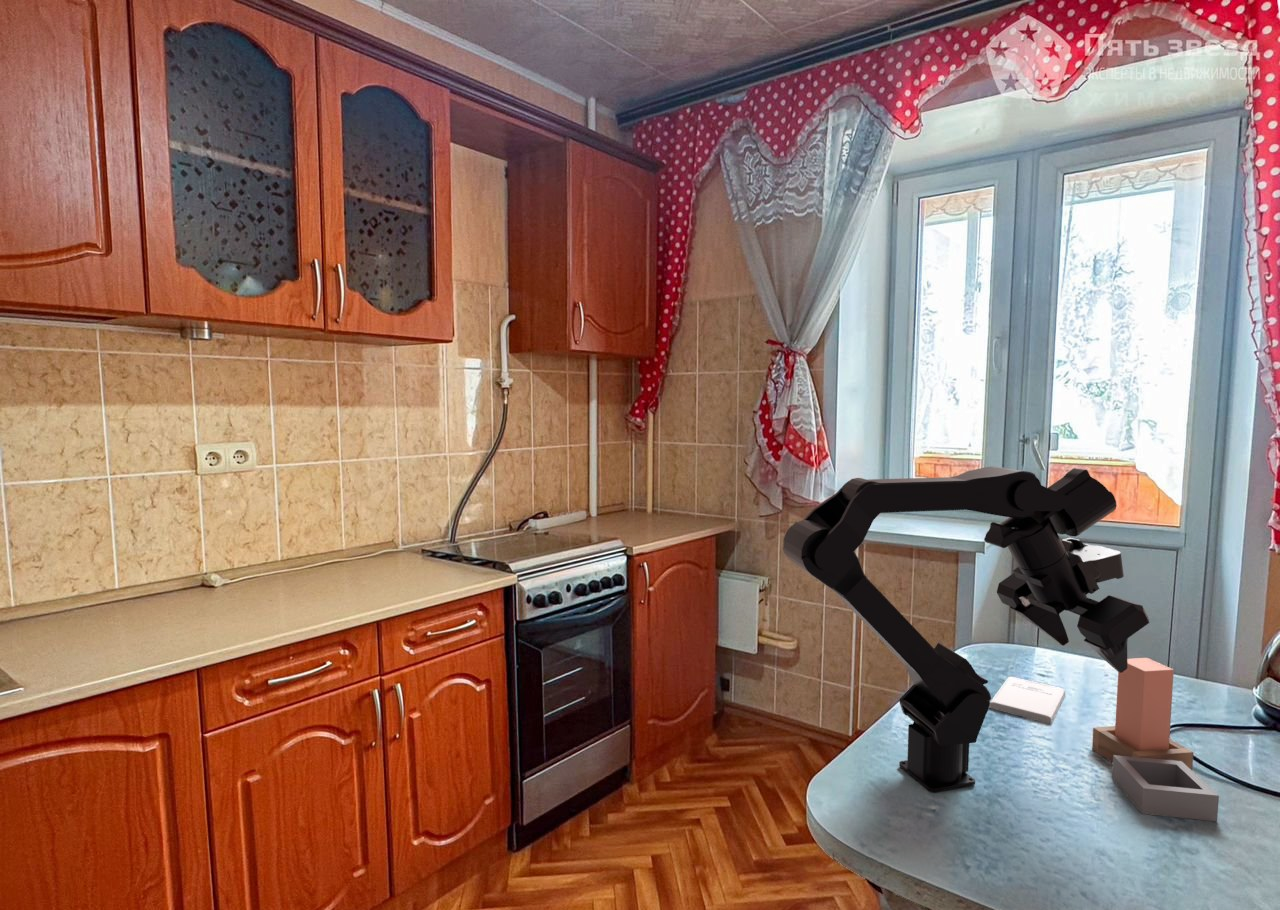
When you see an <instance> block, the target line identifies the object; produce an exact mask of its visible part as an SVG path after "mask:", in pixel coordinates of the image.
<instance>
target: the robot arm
mask: <svg viewBox="0 0 1280 910" xmlns="http://www.w3.org/2000/svg"><path fill="white" fill-rule="evenodd" d="M1117 507H1118V506H1117V501H1116V498H1115V495H1114V494H1113V493H1112V491H1109V490H1108V488H1107V487H1106V486H1104V483H1102V482H1101V481H1099V480H1097V479H1096V478H1095V477H1092V476H1091V475H1090V473H1089V471H1088V469H1082V468H1075V467H1074V468H1072V469H1070V470H1069V471H1067V473H1065V475H1063V476H1062V477H1061V478H1060V479H1059V480H1057V481H1055V482H1054V483H1052V484H1051V485H1050V486H1048V487H1047V486H1044V485H1042V484H1041V481H1040V479H1039V478H1038V477H1037V475H1036V474H1035V473H1033V472H1031V471H1025V470H1019V469H1013V468H1006V467H1001V466H995V465H992V466H985V467H980V468H976V469H971V470H967V471H965V472H962V473H960V474H958V475H953V476H948V477H945V476H944V477H943V476H942V477H913V478H912V477H911V478H906V477H905V478H879V479H877V478H875V479H874V478H873V479H871V478H870V479H865V478H863V477H855V478H851V479H850V480H848V481H847V482H845V483H844V484H843V485H842V486H841V487H840V488H839V490H838V491H836V492H835V494H833V495H832V496H830V497H829V498H828V499H826V500H824V501H823V502H821V503H820V504H818V505H817V506H816V507H814V508H813V509H812V510H811V511H810V512H809V513H808V514H807V515H806V516H805V517H804V519H802V520H800V521H796V522H795V523H793V524H792V525H791V526H789V528H788V529H787V530H786V532H785V534H784V538H783V544H782V545H783V546H782V550H783V553H784V555H785V556H786V558H787V560H789V561H790V562H792V563H793V564H794V565H796V566H797V567H799V569H801V570H803V571H804V572H805V573H807V575H809V576H811V577H813V579H815V580H816V581H818V582H820V583H821V584H822V585H824V586H825V587H827V588H828V589H829V590H832V592H834V593H835V595H837V596H838V598H840V599H841V600H842V601H843V602H844V603H845V605H846V606H848V608H849V609H850V610H851V611H852V612H853V613H854V614H855V615H856V616H857V618H859V619H860V620H861V621H862V622H863V623H864V624H865V626H867V628H869V629H870V630H871V631H872V632H873V634H875V636H877V638H878V639H879V640H880V641H881V642H882V643H883V644H884V645H885V646H886V647H887V648H888V649H889V650H890V651H891V652H892V653H893V654H894V655H895V656H896V657H897V658H898V659H899V661H901V662H902V664H903V666H905V668H906V670H907V674H908V675H909V678H910V680H911V682H912V683H913V684H912V685H911V686H910V688H909V689H907V691H906V692H904V694H903V695H902V696H901V697H900V698H899V700H898V701H899V704H900V709H901V711H902V713H903V714H904V715H905V716H906V717H908V718H910V720H911V721H912V722H913V723H910V724H908V733H907V759H906V760H901V761H899V762H898V765H899V767H900V768H901V769H902V770H903V771H905V772H906V773H907V774H908V775H909V776H911V777H912V778H913V779H915V780H916V781H917V782H918V783H919V784H921V785H922V787H924V788H925V789H927V790H928V791H929V792H932V793H938V792H942V791H947V790H953V789H957V788H958V789H959V788H963V787H969V786H974V785H976V779H975V778H973V776H971V775H970V774H968V772H969V767H970V766H969V763H970V761H969V759H970V744H974V743H976V742H977V740H978V737H979V735H980V731H981V729H982V726H983V724H984V722H985V721H984V720H985V718H986V716H987V713H988V712H989V709H990V702H991V700H992V695H991V692H990V691H989V689H988V688H987V686H986V684H988V683H989V681H988V679H985V678H984V677H983V676H981V675H980V674H978V673H977V672H976V671H975V669H974V667H973V665H972V664H971V663H970V662H969V661H968V659H966V658H965V657H963V656H961V655H960V654H958V653H957V652H955V651H953V650H952V649H950V648H949V647H947V646H945V645H943V644H942V643H941V642H938V643H937V644H936V645H935V646H932V645H931V644H930V643H929V642H928V641H927V639H925V638H924V636H923V635H922V634H921V633H920V632H919V630H917V629H916V628H915V627H914V625H912V623H910V622H909V621H908V619H906V617H904V615H903V614H902V613H901V612H900V611H899V610H898V609H897V608H896V607H895V606H894V605H893V604H892V603H891V601H890V600H888V598H887V597H886V596H885V595H884V594H883V593H882V592H881V591H880V590H879V589H878V588H877V586H876V585H874V584H873V583H872V582H871V580H870V579H868V577H867V575H866V574H865V571H864V568H863V566H862V564H861V563H862V562H861V561H860V558H859V557H858V556H857V554H856V552H855V551H856V550H857V548H859V546H861V544H862V543H863V542H864V541H865V539H866V536H867V534H868V533H869V530H870V527H871V526H872V524H873V521H874V520H875V519H876V518H877V517H878V516H879V515H880V514H885V513H887V514H888V513H891V514H892V513H912V512H913V513H914V512H915V513H917V512H939V511H941V512H942V511H970V512H978V513H981V514H982V513H983V514H988V515H993V516H998V517H1006V519H1005V520H1003V521H1001V522H1000V523H997V522H993V521H992V522H990V526H989V529H988V530H987V532H986V533H985V536H984V538H983V539H984V540H983V541H984V542H985V543H987V544H990V545H992V546H996V547H999V548H1002V549H1006V548H1008V550H1009V552H1010V554H1011V556H1012V559H1013V560H1014V562H1015V564H1016V566H1017V567H1016V568H1015V569H1013V570H1012V572H1013V573H1011V574H1010V575H1009V576H1008V577H1006V578H1005V579H1003V580H1002V581H1000V582H999V583H998V584H997V590H996V593H997V594H996V595H997V596H998V598H999V600H1000V602H1001V603H1002V604H1004V605H1006V606H1008V607H1009V608H1010V610H1012V611H1014V612H1015V613H1016V614H1019V615H1020V616H1021V617H1022V618H1024V619H1025V620H1027V621H1029V623H1030V624H1033V625H1034V626H1035V627H1036V628H1038V629H1039V630H1040V631H1042V632H1043V633H1045V634H1046V635H1047V636H1048V637H1050V638H1051V639H1052V640H1054V641H1055V642H1056V643H1058V644H1059V645H1060V646H1063V647H1064V646H1065V645H1067V644H1068V643H1070V640H1069V636H1068V634H1067V630H1066V628H1065V626H1064V623H1063V620H1062V618H1061V616H1060V614H1061V613H1062V612H1064V611H1068V612H1071V613H1072V614H1076V615H1078V616H1079V618H1078V622H1077V625H1076V627H1077V629H1078V630H1079V633H1080V634H1081V635H1082V636H1083V637H1084V639H1083V641H1084V642H1085V643H1086V644H1087V645H1088V646H1089V647H1090V648H1091V649H1092V650H1094V652H1095V653H1097V654H1098V655H1099V656H1100V658H1102V659H1104V661H1106V663H1107V664H1109V665H1110V666H1111V667H1112V668H1113V669H1114V670H1115V671H1116V672H1117V673H1118V672H1120V673H1122V672H1124V671H1125V670H1126V669H1127V668H1128V663H1127V659H1128V641H1129V640H1128V639H1129V638H1131V636H1133V635H1135V634H1136V633H1137V632H1138V631H1140V630H1141V629H1143V628H1144V627H1146V626H1147V625H1149V624H1150V618H1149V615H1147V612H1146V610H1145V608H1144V606H1143V605H1142V604H1138V603H1135V602H1133V601H1130V600H1127V599H1123V598H1121V597H1117V596H1114V595H1107V596H1106V597H1104V598H1103V599H1101V600H1100V601H1098V600H1095V599H1092V598H1090V597H1088V596H1087V595H1089V594H1090V595H1091V594H1094V593H1096V592H1097V591H1099V590H1100V587H1099V585H1098V583H1102V582H1106V581H1110V580H1113V579H1114V580H1115V579H1116V580H1119V579H1123V578H1124V568H1123V567H1124V566H1123V558H1122V552H1121V551H1119V550H1116V549H1112V548H1110V547H1109V548H1108V547H1105V546H1101V545H1098V544H1097V545H1094V544H1088V543H1085V544H1084V543H1083V541H1082V540H1081V539H1077V538H1075V537H1077V536H1079V535H1081V534H1083V533H1084V532H1085V531H1087V530H1088V529H1090V528H1091V527H1093V526H1094V525H1095V524H1097V523H1099V522H1100V521H1101V520H1103V519H1104V518H1106V517H1107V516H1110V515H1111V514H1112V513H1113V512H1115V511H1116V509H1117ZM1060 535H1066V536H1070V537H1066V538H1063V539H1061V538H1060Z"/></svg>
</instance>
